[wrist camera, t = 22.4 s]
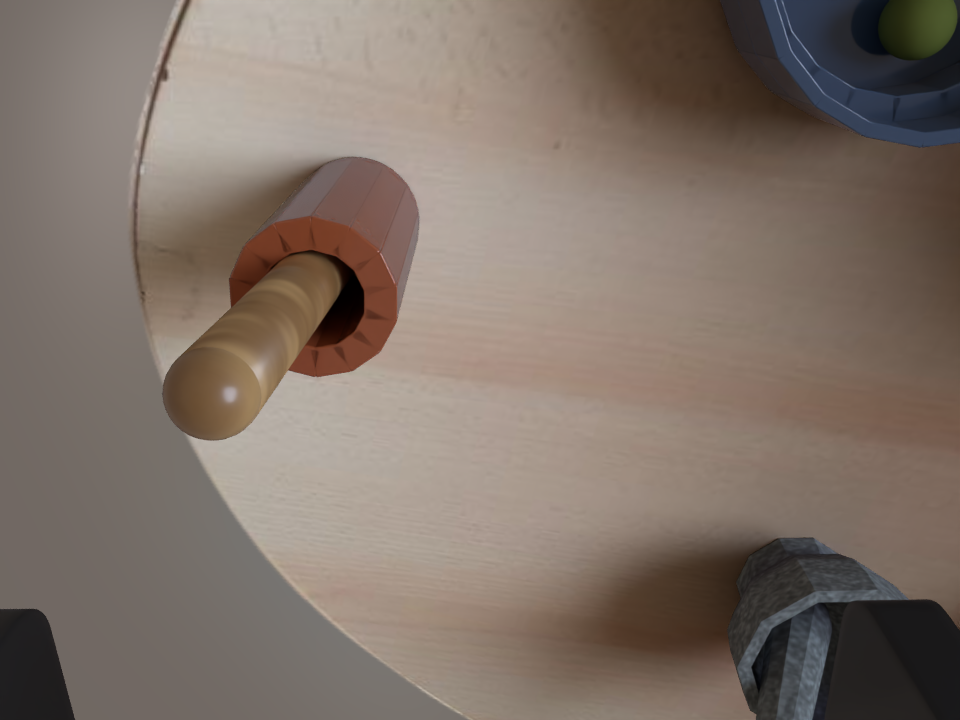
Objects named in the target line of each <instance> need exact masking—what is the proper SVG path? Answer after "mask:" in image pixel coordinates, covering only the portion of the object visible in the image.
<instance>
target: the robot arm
mask: <svg viewBox="0 0 960 720" xmlns="http://www.w3.org/2000/svg"><path fill="white" fill-rule="evenodd" d="M0 720H75V718H74V714H73V710H72V707H71V703H70V699H69V695H68V692H67V688H66V684H65V680H64V676H63V673H62V669H61V665H60V662H59V658H58V654H57V650H56V646H55V643H54V639H53V635H52V631H51V628H50V625H49V622H48V620H47V618H46V616H45V615H44V614H43V613H42V612H41V611H39V610H37V609H0ZM824 720H960V630H959V629H958V628H957V626H956V625H955V624H954V622H953V621H952V620H951V618H950V617H949V615H948V614H947V613H946V611H945V610H944V609H943V608H942V607H941V606H940V605H939V604H938V603H936V602H934V601H932V600H927V599H923V600H855V601H851V602H850V603H849V604H848V605H847V607H846V608H845V611H844V614H843V618H842V622H841V628H840V633H839V639H838V645H837V650H836V656H835V661H834V667H833V672H832V678H831V684H830V689H829V695H828V700H827V706H826V711H825V719H824Z"/></svg>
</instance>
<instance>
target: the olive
mask: <svg viewBox="0 0 960 720" xmlns="http://www.w3.org/2000/svg"><path fill="white" fill-rule="evenodd" d="M956 24H957V9H956V5H955V3H954V1H953V0H890V1H889V2H888V3H887V4H886V6H885V7H884V9H883V11H882V13H881V16H880V19H879V23H878V34H879V38H880V41H881V43H882V45H883V47H884V48H885V49H886V50H887V52H888V53H890V54H891V55H893V56H894V57H896V58H899V59H902V60H909V61H913V60H921V59H924V58H927V57H930V56H932V55H933V54H935V53H937V52H938V51H939V50H941V49H942V48H943V47H944V46H945V45H946V44H947V43H948V42H949V40H950V39H951V37H952V35H953V33H954V31H955V28H956Z"/></svg>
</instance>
